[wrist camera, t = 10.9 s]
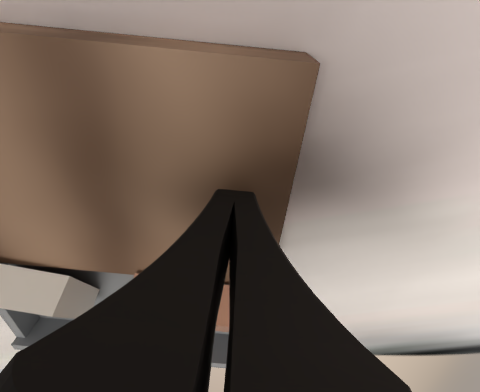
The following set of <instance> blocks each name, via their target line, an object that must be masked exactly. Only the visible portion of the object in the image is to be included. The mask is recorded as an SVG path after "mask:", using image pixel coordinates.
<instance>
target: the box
mask: <svg viewBox="0 0 480 392" xmlns="http://www.w3.org/2000/svg"><path fill="white" fill-rule="evenodd" d="M0 264H5V265H11V266H16V267H22V268H27V269H33V270H39V271H44V272H50V273H55V274H61V275H66V276H71V277H73V278H75V279H77V280H79V281H82V282H84V283H86V284H88V285H91V286H93V287H95V288H97V289H100V290H99V292H98V295H97V298H96V300H95V303H94V306H95V305H97V304H98V303H100V302H101V301H102V300H104V299H105V298H107V297H108V296H110V295H111V294H113V293H114V292H116V291H117V290H118V289H120V288H121V287H123V286H124V285H125V284H127V283H128V282H129V281H131V280H132V279H133V278H134V275H129V274H118V273H107V272H97V271H86V270H75V269H64V268H53V267H42V266H32V265H21V264H10V263H0ZM224 285H229V284H227V283H224ZM94 306H93V307H94ZM0 315H1V317H2V318H3V319H4V321H5V322H6V323H7V325H8V326H9V327H10V329H11V330H12V332H13V333H14V334H15V336H16V339H15V340H14V342H13V343H12V344H11V345H12V346H13V348H14V349H18V350H23V349H25V348H27V347H28V346H30V345H32V344H33V343H35V342H37V341H39V340H40V339H42V338H44V337H45V336H47V335H49V334H50V333H52V332H54V331H55V330H57V329H59V328H60V327H62V326H64V325H65V324H67V323H69V322H70V321H72V320H74V319H71V318H60V317H50V316H44V315H38V314H32V313H26V312H20V311H14V310H8V309H2V308H0ZM228 336H229V332H220V331H215V336H214V345H213V354H212V362H211V367H218V368H226V360H227V348H228Z"/></svg>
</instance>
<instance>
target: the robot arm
mask: <svg viewBox="0 0 480 392" xmlns="http://www.w3.org/2000/svg"><path fill="white" fill-rule="evenodd" d="M228 263H229V336H228V348H227V360H226V373H225V384H224V392H412V391H411V389H410V388H409V386H408V385H406V384H405V383H404V382H403V381H402V380H401V379H400V378H399V377H398V376H397V375H395V374H394V373H393V372H392V371H391V370H390V369H389V368H388V367H386V366H385V365H384V364H383V363H382V362H381V361H380V360H379V359H378V358H377V357H375V356H374V355H373V354H372V353H371V352H370V351H369V350H368V349H366V348H365V347H364V346H363V345H362V344H361V343H360V342H359V341H358V340H357V339H356V338H355V337H354V336H353V335H352V334H351V333H350V332H349V331H348V330H347V329H346V328H345V327H344V326H343V325H342V324H341V323H340V322H339V321H338V320H337V319H336V317H335V316H334V315H333V314H332V313H331V312H330V311H329V310H328V309H327V307H326V306H325V305H324V304H323V303H322V302H321V301H320V300H319V299H318V297H317V296H316V295H315V294H314V293H313V292H312V290H311V289H310V288H309V287H308V285H307V284H306V283H305V282H304V280H303V279H302V278H301V277H300V275H299V274H298V273H297V271H296V270H295V268H294V267H293V266H292V264H291V263H290V261H289V260H288V258H287V257H286V255H285V254H284V252H283V251H282V249H281V248H280V246H279V244H278V243H277V241H276V239H275V237H274V236H273V234H272V232H271V230H270V228H269V226H268V224H267V222H266V220H265V218H264V216H263V214H262V212H261V209H260V207H259V204H258V202H257V198H256V195H255V194H254V193H253V192H248V191H237V190H227V189H217V190H216V191H215V192H214V194H213V196H212V197H211V199H210V201H209V202H208V203H207V205H206V206H205V208H204V209H203V210H202V212H201V213H200V214H199V215H198V217H197V218H196V219H195V220H194V222H193V223H192V224H191V225H190V226H189V227H188V228H187V230H186V231H185V232H184V233H183V234H182V235H181V236H180V237H179V238H178V239H177V240H176V241H175V242H174V243H173V244H172V245H171V246H170V247H169V248H168V249H167V250H166V251H165V252H164V253H163V254H162V255H161V256H160V257H158V258H157V259H156V260H155V261H154V262H153V263H152V264H150V265H149V266H148V267H147V268H146V269H144V270H143V271H142V272H141V273H139V274H138V275H137V276H136V277H135V278H133V279H132V280H131V281H129V282H128V283H127V284H125V285H124V286H123V287H121V288H120V289H118V290H117V291H116V292H114V293H113V294H111V295H110V296H108V297H107V298H105V299H104V300H102V301H101V302H100V303H98V304H97V305H95V306H94V307H92V308H91V309H89V310H88V311H86V312H85V313H83V314H82V315H80V316H79V317H77V318H75V319H74V320H72V321H70V322H69V323H67V324H65V325H64V326H62V327H60V328H59V329H57V330H55V331H54V332H52V333H50V334H49V335H47V336H45V337H44V338H42V339H40V340H39V341H37V342H35V343H33V344H32V345H30V346H28V347H27V348H25V349H23V350H21V351H19V352H18V353H16V354H15V356H14V357H13V358H12V359H11V361H10V362H9V363H8V364H7V366H6V367H5V368H4V369H3V370H2V372H1V373H0V392H208V388H209V380H210V371H211V362H212V354H213V345H214V336H215V328H216V322H217V316H218V311H219V306H220V302H221V297H222V292H223V287H224V282H225V277H226V273H227V268H228Z"/></svg>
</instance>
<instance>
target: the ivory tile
mask: <svg viewBox="0 0 480 392" xmlns="http://www.w3.org/2000/svg"><path fill="white" fill-rule="evenodd" d="M99 290H100V289H97V288H95V287H93V286H91V285H88V284H86V283H84V282H82V281H79V280H77V279H75V278H73V277H71V276H66V275H61V274H55V273H50V272H44V271H39V270H33V269H27V268H22V267H16V266H11V265H5V264H0V308H2V309H8V310H14V311H20V312H26V313H32V314H38V315H44V316H50V317H60V318H71V319H75V318H77V317H79V316H80V315H82V314H83V313H85V312H86V311H88V310H89V309H91V308H92V307H93V306H94V303H95V300H96V298H97V295H98V292H99Z"/></svg>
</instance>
